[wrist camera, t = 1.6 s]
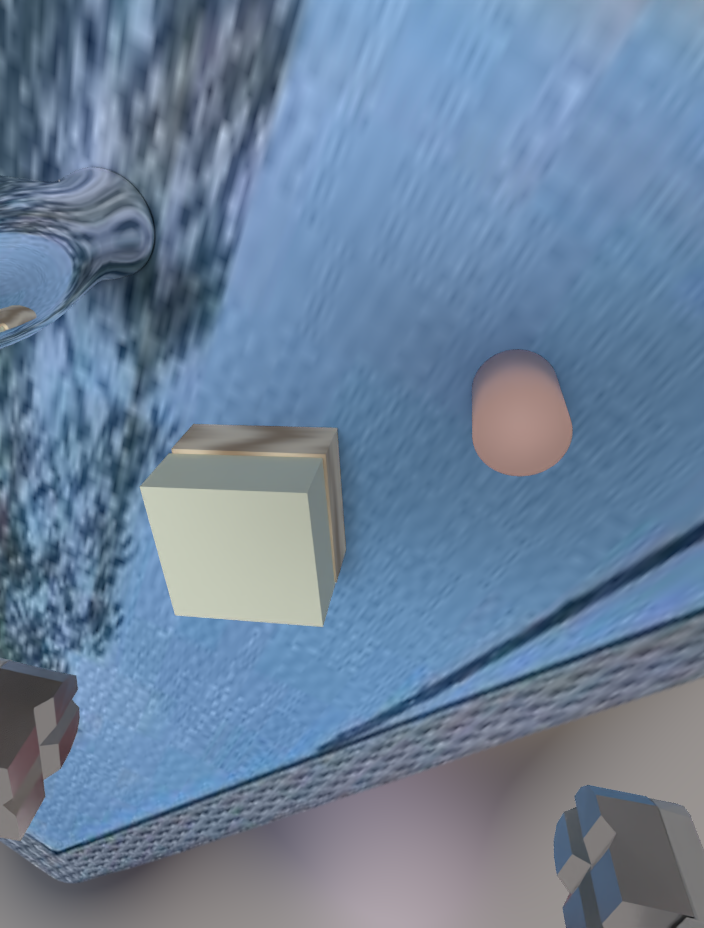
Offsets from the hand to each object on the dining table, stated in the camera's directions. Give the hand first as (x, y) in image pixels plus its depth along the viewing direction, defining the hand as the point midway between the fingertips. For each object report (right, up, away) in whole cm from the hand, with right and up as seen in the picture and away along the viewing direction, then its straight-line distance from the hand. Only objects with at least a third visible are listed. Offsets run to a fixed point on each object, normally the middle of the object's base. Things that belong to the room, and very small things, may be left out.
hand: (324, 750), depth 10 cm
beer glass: (-14, +19, +26) cm, 35 cm away
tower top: (-6, +1, +31) cm, 31 cm away
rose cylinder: (+10, +9, +27) cm, 30 cm away
